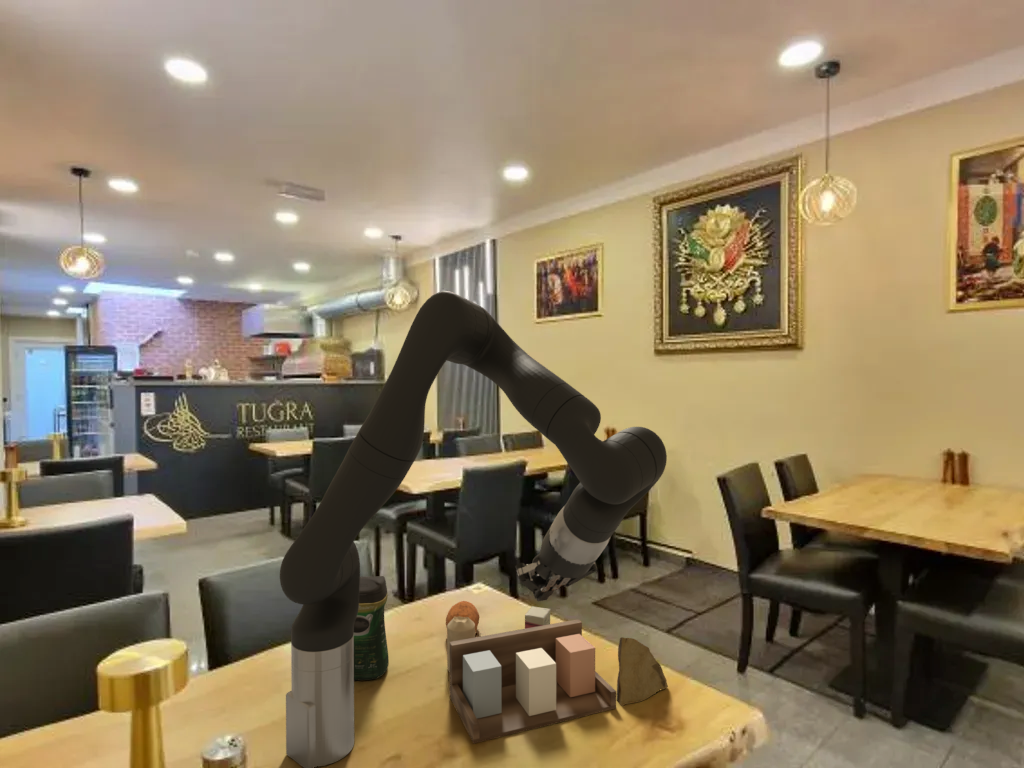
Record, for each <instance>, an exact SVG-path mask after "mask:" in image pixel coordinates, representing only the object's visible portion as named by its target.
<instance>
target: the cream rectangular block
mask: <svg viewBox="0 0 1024 768" xmlns="http://www.w3.org/2000/svg"><path fill="white" fill-rule="evenodd" d="M516 698H517V700H518V701H519V703H520V704H521V705H522V707H523V708H524V710H525V711H526V712H527V714H528V715H529V716H532V715H536V714H541V713H545V712H549V711H553V710H556V663H555V662H554V661H553V659H552V658H551V657H550V656H549V655H548V654H547V653H546V652H545V651H544V650H543V649H542V648H538V649H533V650H528V651H522V652H517V653H516Z"/></svg>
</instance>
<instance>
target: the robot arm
mask: <svg viewBox="0 0 1024 768" xmlns="http://www.w3.org/2000/svg"><path fill="white" fill-rule="evenodd" d="M447 361H448V362H451V363H453V364H457V365H462V366H463V365H464V366H465V367H468V368H470V369H472V370H474V371H476V372H477V373H480V374H481V375H482V376H484V377H485V378H488V379H489V380H491V382H493V384H495V385H497V386H498V387H499V389H500V390H502V392H503V393H504V394H505V395H506V397H507V398H508V400H509V401H510V403H511V405H512V406H513V407H514V409H515V410H517V413H519V414H520V416H521V417H522V418H523V419H524V420H525V421H527V422H528V424H530V425H531V426H532V427H533V428H534V429H536V430H537V431H538V432H539V433H541V435H543V437H545V438H546V439H547V440H549V442H551V443H552V444H553V445H555V447H556V448H557V449H558V451H559V452H560V454H561V456H562V457H563V458H564V460H565V461H566V463H567V464H568V466H569V467H570V469H571V470H572V472H573V473H574V475H575V476H576V478H577V480H578V481H579V483H578V485H576V487H575V488H574V489H573V491H572V493H571V495H570V496H569V498H568V500H567V501H566V503H565V505H564V506H563V507H562V508H561V509H560V511H559V512H558V513H557V515H556V516H555V518H554V520H553V521H552V523H551V525H550V526H549V529H548V530H547V532H546V533H545V535H544V537H543V538H542V542H541V545H540V552H539V554H537V555H536V556H534V558H533V559H532V563H526V564H525V563H524V562H518V563H517V564H515V569H516V570H515V571H516V574H517V576H518V579H519V582H520V584H522V585H523V586H524V587H526V589H528V590H529V591H530V592H532V593H533V596H534V599H535V600H536V601H537V602H541V601H542V602H543V601H547V600H548V599H549V597H551V596H552V594H553V593H554V592H555V591H557V590H559V589H560V588H561V587H562V586H563V587H564V588H566V587H570V586H571V585H573V584H575V583H577V582H579V581H581V580H583V579H585V578H586V577H588V576H591V574H593V573H595V572H597V571H598V567H597V564H596V561H597V560H598V558H599V557H600V556H601V554H602V553H603V552H604V550H605V549H606V547H607V545H608V544H609V542H610V540H611V537H612V536H613V535H614V533H615V531H616V530H617V529H618V528H619V526H620V524H621V523H622V521H623V519H624V518H625V517H626V515H628V513H629V512H630V510H631V509H632V508H633V507H634V506H636V504H637V503H639V502H640V501H641V499H642V498H643V497H645V495H647V493H648V492H649V491H651V489H652V488H654V486H655V484H657V482H658V481H659V480H661V479H660V478H662V476H663V474H664V471H665V470H666V466H667V460H668V459H667V457H668V455H667V450H666V446H665V444H664V442H663V440H662V438H661V437H660V436H659V435H658V434H657V433H656V432H654V431H653V430H651V429H650V428H648V427H643V426H631V427H628V428H625V429H622V430H620V431H618V432H616V433H615V434H613V435H611V436H609V437H608V438H606V439H604V440H601V439H599V438H598V436H596V435H595V434H596V433H597V431H598V429H599V427H600V424H601V419H602V416H601V415H602V414H601V412H600V409H599V408H598V406H596V404H595V403H594V402H593V401H591V400H590V399H588V398H587V397H586V396H585V395H584V394H582V393H581V392H580V391H578V390H577V389H576V388H574V387H573V386H572V385H571V384H569V383H568V382H567V381H565V380H563V378H561V377H559V375H557V374H555V372H553V371H551V370H550V369H548V367H545V365H543V364H541V363H540V362H538V360H536V359H535V358H533V357H532V356H530V354H529V353H527V352H526V351H525V350H524V349H523V348H522V347H520V345H518V344H517V342H516V341H515V340H514V339H512V338H511V336H510V335H509V334H508V333H507V332H506V330H505V329H504V328H503V327H502V326H501V325H500V324H499V323H498V322H497V321H496V320H495V318H494V317H493V316H492V315H491V314H490V313H489V312H488V311H487V310H486V309H485V307H482V306H481V305H479V304H478V303H475V302H473V301H471V300H469V299H468V298H465V297H463V296H462V295H459V294H458V293H455V292H452V291H449V290H448V291H447V290H443V291H439V292H436V293H433V294H432V295H431V296H430V297H428V299H426V300H425V301H424V303H423V304H422V305H421V307H420V308H419V309H418V311H417V313H416V315H415V317H414V319H413V321H412V322H411V325H410V328H409V330H408V332H407V335H406V337H405V339H404V342H403V344H402V346H401V349H400V351H399V354H398V356H397V359H396V361H395V363H394V365H393V367H392V369H391V372H390V373H389V375H388V377H387V379H386V382H385V383H384V385H383V387H382V388H381V391H380V393H379V394H378V397H377V398H376V400H375V402H374V404H373V406H372V408H371V410H370V411H369V413H368V415H367V417H366V419H365V420H364V422H363V423H362V425H360V428H359V430H358V432H357V434H356V435H355V437H354V438H353V441H352V443H351V444H350V446H349V448H348V450H347V452H346V453H345V456H344V458H343V460H342V462H341V464H340V466H339V467H338V469H337V471H336V472H335V475H334V477H333V478H332V480H331V482H330V484H329V485H328V488H327V490H326V491H325V492H324V495H323V497H322V499H321V501H320V503H319V504H318V507H317V508H316V509H315V511H314V513H313V515H312V516H311V517H310V519H309V520H308V522H307V523H306V525H304V527H303V528H302V530H301V531H300V533H299V534H298V536H297V537H296V538H295V539H294V541H293V542H292V544H291V545H290V547H289V548H288V550H287V551H286V553H285V554H284V556H283V559H282V561H281V564H280V569H279V581H280V582H279V583H280V587H281V590H282V592H283V593H284V595H285V596H286V598H287V599H288V600H289V601H291V602H293V603H295V604H299V605H302V606H301V609H300V611H299V612H298V614H297V616H296V617H295V618H294V621H293V622H292V625H291V630H290V631H291V632H290V640H291V641H290V643H291V647H290V649H291V651H290V653H291V655H290V656H291V657H290V660H291V661H290V662H291V663H290V665H291V666H290V667H291V669H290V671H291V676H290V677H291V678H290V679H291V680H290V682H291V685H290V686H291V690H290V691H287V692H286V694H285V744H286V745H285V746H286V747H285V750H286V751H285V754H286V756H288V757H289V758H291V759H292V760H293V761H294V762H296V763H297V764H298V765H300V766H301V767H302V768H314V767H315V768H318V767H322V766H327V765H331V764H334V763H336V762H338V761H340V760H342V759H343V758H345V757H346V756H347V755H348V754H349V753H350V752H351V751H352V749H353V748H354V745H355V680H354V623H355V620H356V617H357V614H358V608H359V588H360V577H361V561H360V553H359V550H358V547H357V545H356V544H355V540H356V538H357V537H358V535H359V534H360V532H361V531H362V529H364V528H365V526H366V525H367V524H368V522H370V521H371V519H372V518H373V517H374V516H375V515H376V514H377V513H378V512H379V511H380V510H381V509H382V507H383V506H384V505H385V504H386V503H387V502H388V501H389V499H391V497H392V496H393V495H394V494H395V492H396V491H397V490H398V488H399V487H400V486H401V484H402V483H403V481H404V479H405V478H406V476H407V474H408V473H409V471H410V470H411V467H412V466H413V464H414V462H415V461H416V459H417V457H418V455H419V453H420V450H421V449H422V445H423V442H424V436H425V418H426V416H425V415H426V414H425V413H426V402H427V399H428V395H429V392H430V390H431V387H432V385H433V383H434V381H436V378H437V376H438V375H439V373H440V371H441V369H442V367H444V365H445V363H446V362H447ZM535 572H536V573H537V574H536V573H535ZM317 766H318V767H317Z"/></svg>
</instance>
